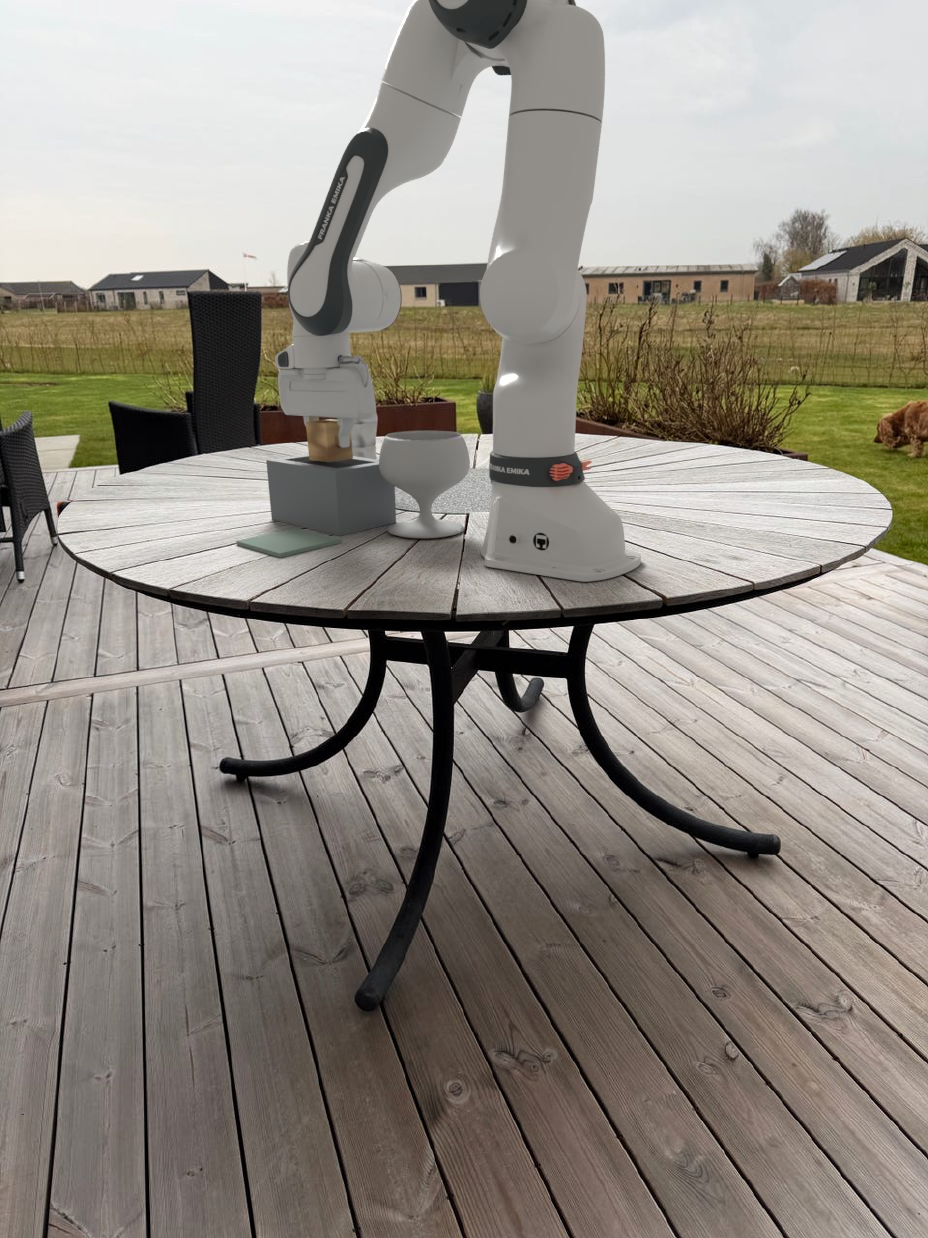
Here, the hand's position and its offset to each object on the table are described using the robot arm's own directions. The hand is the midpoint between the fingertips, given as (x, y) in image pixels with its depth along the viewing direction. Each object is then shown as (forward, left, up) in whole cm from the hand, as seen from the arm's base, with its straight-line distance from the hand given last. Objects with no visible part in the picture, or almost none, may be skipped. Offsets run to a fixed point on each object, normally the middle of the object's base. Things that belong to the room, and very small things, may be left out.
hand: (330, 445), depth 127 cm
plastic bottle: (+14, -19, -13) cm, 27 cm away
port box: (0, 0, -13) cm, 12 cm away
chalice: (-17, -5, -13) cm, 21 cm away
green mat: (-7, +14, -12) cm, 20 cm away
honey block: (0, 0, -2) cm, 2 cm away
